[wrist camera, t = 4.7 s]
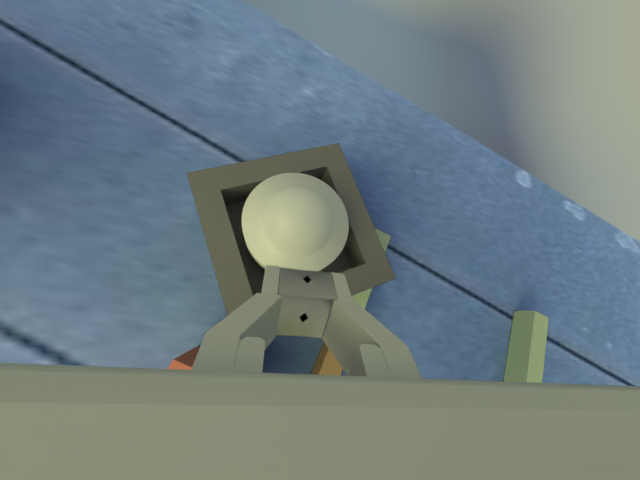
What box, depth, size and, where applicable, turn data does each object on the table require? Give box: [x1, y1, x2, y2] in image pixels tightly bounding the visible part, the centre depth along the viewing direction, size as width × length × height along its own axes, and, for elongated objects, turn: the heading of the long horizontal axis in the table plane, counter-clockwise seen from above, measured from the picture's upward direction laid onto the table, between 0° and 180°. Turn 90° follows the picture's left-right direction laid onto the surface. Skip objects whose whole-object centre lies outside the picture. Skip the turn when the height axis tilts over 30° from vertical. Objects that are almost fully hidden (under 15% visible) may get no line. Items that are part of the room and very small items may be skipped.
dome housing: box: [187, 143, 396, 315], centre depth 19 cm, size 11×11×6 cm
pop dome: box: [241, 173, 349, 271], centre depth 15 cm, size 6×6×4 cm
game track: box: [311, 229, 549, 383], centre depth 18 cm, size 27×18×2 cm, turn 156°
